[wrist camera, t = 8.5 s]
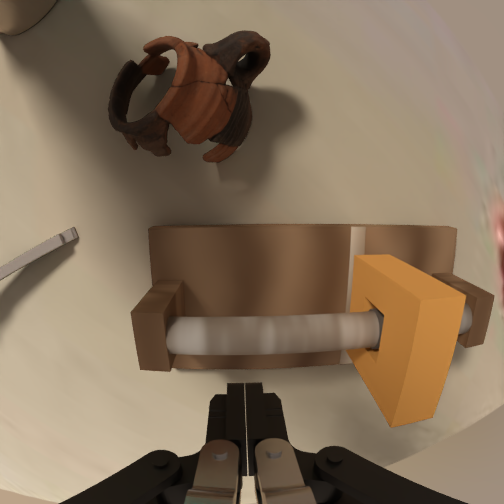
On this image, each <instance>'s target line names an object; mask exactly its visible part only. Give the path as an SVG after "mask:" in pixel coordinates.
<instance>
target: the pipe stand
mask: <svg viewBox="0 0 504 504" xmlns="http://www.w3.org/2000/svg"><path fill="white" fill-rule="evenodd" d="M148 231H149V248H150V262H151V274H152V285H153V286H152V288H151V289H150V290H149V291H148V292H147V293H146V295H145V296H144V297H143V298H142V299H141V301H140V302H139V303H138V304H137V305H136V307H135V308H134V309H133V310H132V311H131V318H132V325H133V331H134V338H135V344H136V349H137V355H138V361H139V366H140V370H150V371H167V372H170V371H171V368H185V369H269V368H292V367H308V366H322V365H334V364H340V365H341V364H351V363H353V362H352V360H351V359H350V357H349V355H348V354H347V352H346V350H348V349H359V348H369V347H370V348H371V349H379V346H380V340H381V334H382V328H383V321H384V314H383V313H382V312H380V311H379V310H378V309H377V308H375V309H370V310H369V311H365V312H350V303H351V292H352V280H353V266H354V255H383V254H390V255H391V256H393V257H395V258H397V259H399V260H401V261H403V262H405V263H407V264H409V265H411V266H413V267H415V268H417V269H418V270H420V271H422V272H424V273H426V274H428V275H430V276H432V277H433V278H435V279H437V280H439V281H441V282H443V283H445V284H446V285H448V286H450V287H452V288H454V289H455V290H457V291H459V292H461V293H463V294H464V295H466V300H465V305H464V310H463V315H462V320H461V324H460V329H459V333H458V337H457V341H458V342H459V343H460V344H461V345H463V346H464V347H465V348H468V347H472V346H477V345H481V344H483V343H484V339H485V335H486V331H487V327H488V323H489V319H490V315H491V310H492V306H493V301H494V295H493V294H491V293H489V292H487V291H485V290H483V289H481V288H479V287H477V286H475V285H473V284H471V283H469V282H467V281H465V280H463V279H461V278H459V277H457V276H455V275H453V274H452V273H453V265H454V257H455V247H456V237H457V228H453V227H449V226H420V225H367V224H239V225H184V226H153V227H151V228H149V229H148Z"/></svg>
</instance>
